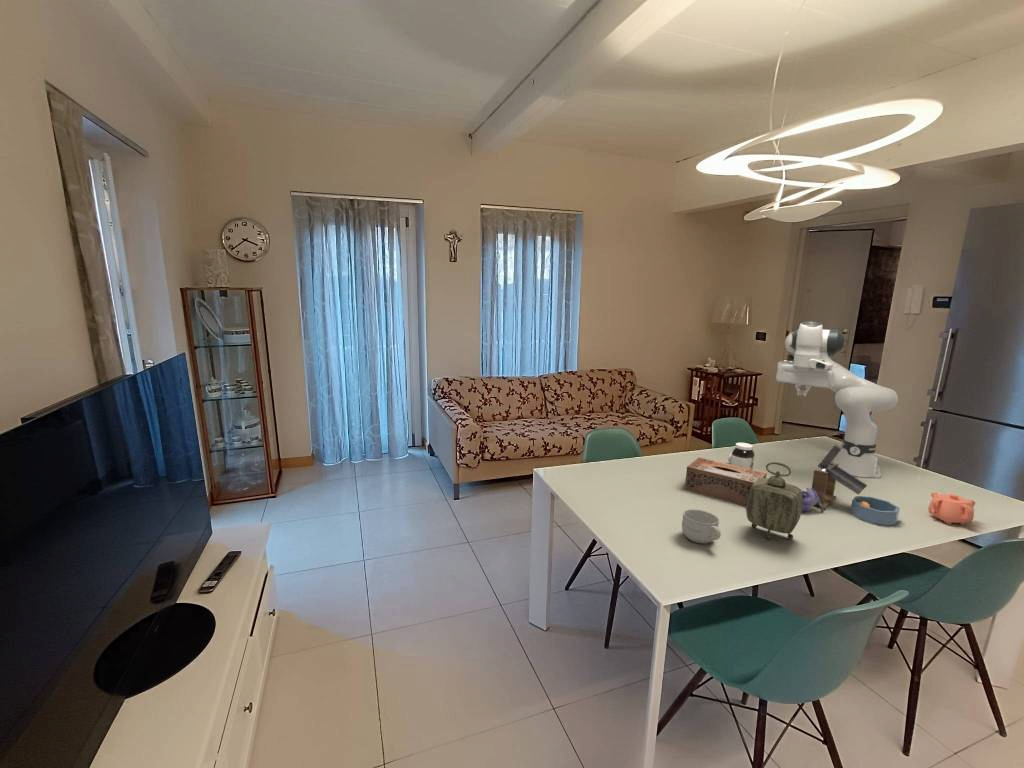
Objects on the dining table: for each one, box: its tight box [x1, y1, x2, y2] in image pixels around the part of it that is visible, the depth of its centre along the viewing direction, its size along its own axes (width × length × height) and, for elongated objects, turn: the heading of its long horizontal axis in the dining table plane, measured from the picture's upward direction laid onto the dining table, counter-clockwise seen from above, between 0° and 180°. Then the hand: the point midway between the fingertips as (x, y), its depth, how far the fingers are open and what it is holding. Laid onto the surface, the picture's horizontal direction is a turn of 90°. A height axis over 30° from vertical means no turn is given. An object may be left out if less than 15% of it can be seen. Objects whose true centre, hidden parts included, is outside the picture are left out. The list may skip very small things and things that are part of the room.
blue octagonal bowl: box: [850, 495, 901, 527], centre depth 163 cm, size 13×13×5 cm
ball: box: [858, 501, 870, 508], centre depth 166 cm, size 4×4×4 cm
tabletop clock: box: [745, 461, 803, 540], centre depth 147 cm, size 14×9×25 cm, turn 48°
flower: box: [801, 487, 825, 513], centre depth 168 cm, size 9×9×10 cm
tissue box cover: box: [684, 457, 768, 507], centre depth 182 cm, size 26×14×10 cm, turn 51°
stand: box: [811, 462, 838, 511], centre depth 174 cm, size 15×6×14 cm, turn 132°
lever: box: [816, 443, 868, 496], centre depth 168 cm, size 10×15×11 cm, turn 42°
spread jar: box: [727, 442, 755, 469], centre depth 209 cm, size 12×11×12 cm
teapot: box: [927, 492, 976, 526], centre depth 161 cm, size 12×12×10 cm
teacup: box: [681, 508, 722, 544], centre depth 145 cm, size 14×11×8 cm
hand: (801, 395), depth 188 cm, fingers closed
